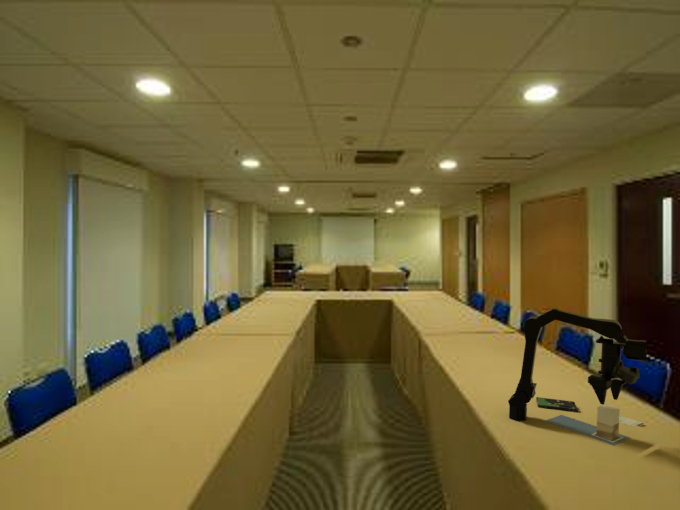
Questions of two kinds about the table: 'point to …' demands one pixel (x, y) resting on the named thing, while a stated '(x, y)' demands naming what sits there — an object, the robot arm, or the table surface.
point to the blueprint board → (583, 429)
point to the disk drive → (556, 404)
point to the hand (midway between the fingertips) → (608, 401)
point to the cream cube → (608, 414)
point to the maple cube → (607, 430)
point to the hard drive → (629, 421)
